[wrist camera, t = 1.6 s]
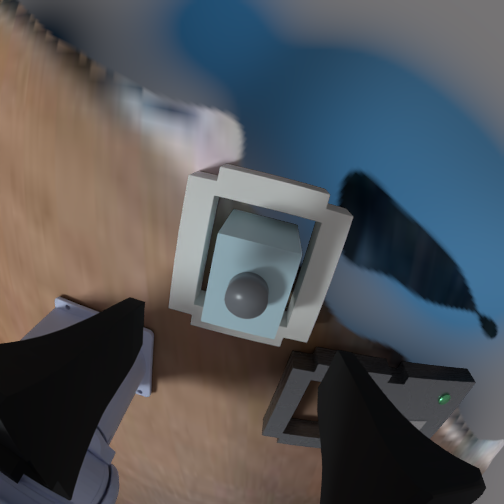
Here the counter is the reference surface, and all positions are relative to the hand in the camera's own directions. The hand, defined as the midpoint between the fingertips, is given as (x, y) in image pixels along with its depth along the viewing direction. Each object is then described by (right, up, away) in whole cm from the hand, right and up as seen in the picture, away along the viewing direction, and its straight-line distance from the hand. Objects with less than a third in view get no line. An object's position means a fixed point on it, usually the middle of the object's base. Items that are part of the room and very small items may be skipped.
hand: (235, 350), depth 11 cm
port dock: (+11, -10, +13) cm, 20 cm away
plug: (+1, +3, +9) cm, 10 cm away
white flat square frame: (+1, +3, +9) cm, 10 cm away
